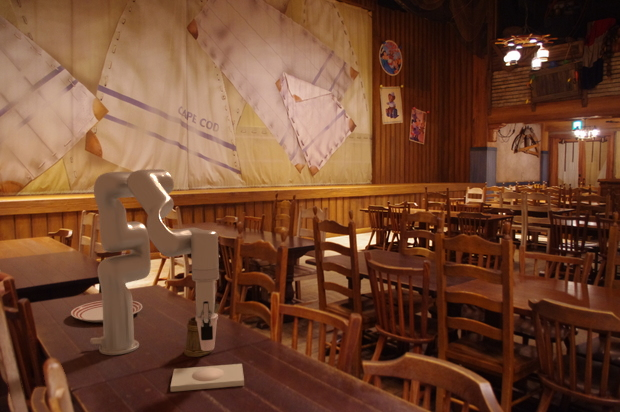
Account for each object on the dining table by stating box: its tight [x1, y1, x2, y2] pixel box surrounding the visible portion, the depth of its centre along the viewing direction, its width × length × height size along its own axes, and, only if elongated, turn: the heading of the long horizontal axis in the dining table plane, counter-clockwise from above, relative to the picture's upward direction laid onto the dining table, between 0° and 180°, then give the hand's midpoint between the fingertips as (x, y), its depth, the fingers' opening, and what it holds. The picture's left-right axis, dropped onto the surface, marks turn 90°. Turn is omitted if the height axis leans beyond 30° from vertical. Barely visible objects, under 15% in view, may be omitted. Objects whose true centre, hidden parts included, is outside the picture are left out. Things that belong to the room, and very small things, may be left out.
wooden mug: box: [183, 302, 220, 358], centre depth 166 cm, size 9×14×18 cm, turn 55°
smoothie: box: [195, 303, 219, 351], centre depth 145 cm, size 6×6×14 cm
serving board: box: [170, 363, 245, 392], centre depth 146 cm, size 20×12×2 cm, turn 100°
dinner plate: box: [70, 300, 143, 323], centre depth 209 cm, size 27×27×3 cm
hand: (207, 335), depth 145 cm, fingers closed on smoothie, 6 cm apart
